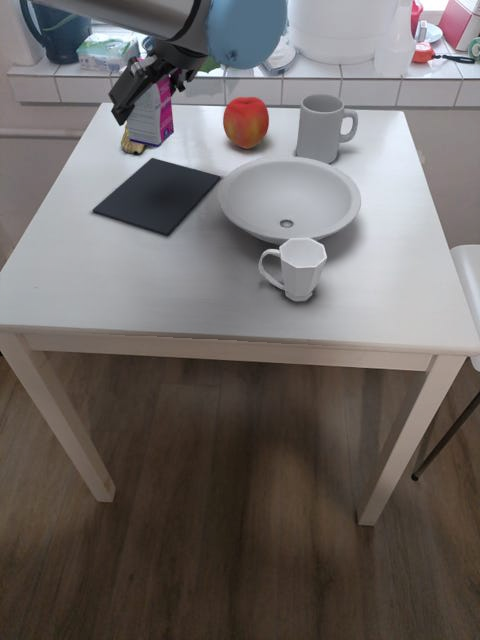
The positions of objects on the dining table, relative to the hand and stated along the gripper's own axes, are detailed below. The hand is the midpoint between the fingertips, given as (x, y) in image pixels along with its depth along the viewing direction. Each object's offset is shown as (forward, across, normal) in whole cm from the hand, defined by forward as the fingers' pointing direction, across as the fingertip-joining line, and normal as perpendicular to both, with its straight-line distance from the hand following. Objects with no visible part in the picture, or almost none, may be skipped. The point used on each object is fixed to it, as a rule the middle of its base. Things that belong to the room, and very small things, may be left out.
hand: (137, 109), depth 82 cm
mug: (+1, +35, -22) cm, 41 cm away
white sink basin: (-6, +11, -29) cm, 32 cm away
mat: (+10, +1, -13) cm, 16 cm away
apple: (+11, +26, -12) cm, 30 cm away
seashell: (+23, +11, 0) cm, 26 cm away
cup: (-14, -1, -37) cm, 40 cm away
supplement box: (0, 0, -5) cm, 5 cm away
